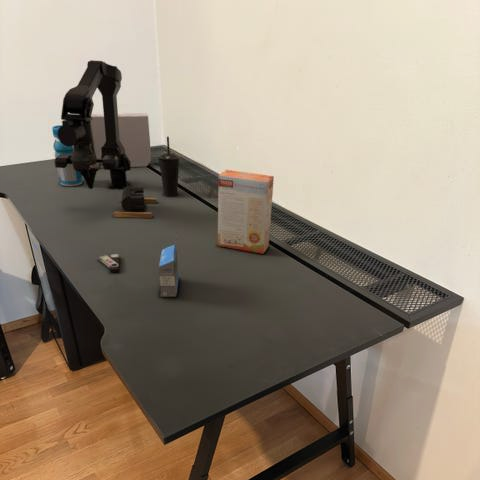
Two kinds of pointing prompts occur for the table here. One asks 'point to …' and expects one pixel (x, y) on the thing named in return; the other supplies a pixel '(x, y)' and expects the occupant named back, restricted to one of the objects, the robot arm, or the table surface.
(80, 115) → the robot arm
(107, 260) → the usb flash drive
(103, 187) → the table surface
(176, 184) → the drinking cup
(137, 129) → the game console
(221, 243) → the cracker box
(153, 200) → the brown flat block
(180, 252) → the table surface
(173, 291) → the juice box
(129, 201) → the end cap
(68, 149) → the beverage bottle
